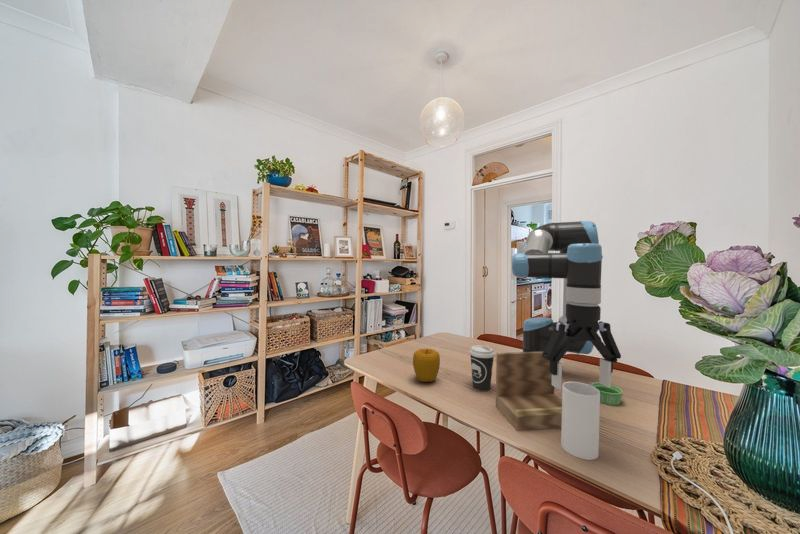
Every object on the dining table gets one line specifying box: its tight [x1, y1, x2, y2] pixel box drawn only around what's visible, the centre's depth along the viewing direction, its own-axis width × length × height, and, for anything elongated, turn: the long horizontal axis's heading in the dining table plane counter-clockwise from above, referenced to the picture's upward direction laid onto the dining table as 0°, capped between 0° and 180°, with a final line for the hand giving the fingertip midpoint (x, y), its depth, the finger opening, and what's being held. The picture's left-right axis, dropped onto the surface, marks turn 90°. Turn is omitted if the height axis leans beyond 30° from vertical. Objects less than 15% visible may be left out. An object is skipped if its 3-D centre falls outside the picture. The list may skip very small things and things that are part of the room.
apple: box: [412, 348, 441, 383], centre depth 115 cm, size 11×11×13 cm
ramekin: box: [590, 381, 624, 406], centre depth 100 cm, size 9×9×4 cm
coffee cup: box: [468, 344, 496, 392], centre depth 109 cm, size 10×10×15 cm
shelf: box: [495, 351, 562, 431], centre depth 89 cm, size 20×14×18 cm
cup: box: [560, 381, 601, 461], centre depth 74 cm, size 8×8×16 cm
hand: (580, 386), depth 73 cm, fingers open, 13 cm apart
